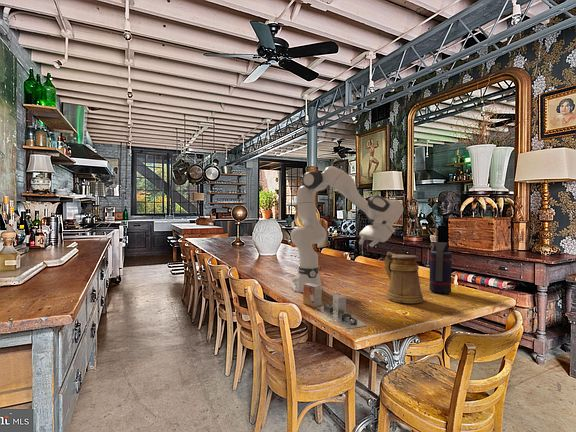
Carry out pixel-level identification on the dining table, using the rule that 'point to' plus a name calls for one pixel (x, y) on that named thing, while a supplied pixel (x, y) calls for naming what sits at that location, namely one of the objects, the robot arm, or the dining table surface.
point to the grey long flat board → (341, 317)
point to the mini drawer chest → (339, 304)
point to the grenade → (440, 268)
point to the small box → (312, 294)
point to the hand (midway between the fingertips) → (365, 245)
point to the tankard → (403, 278)
